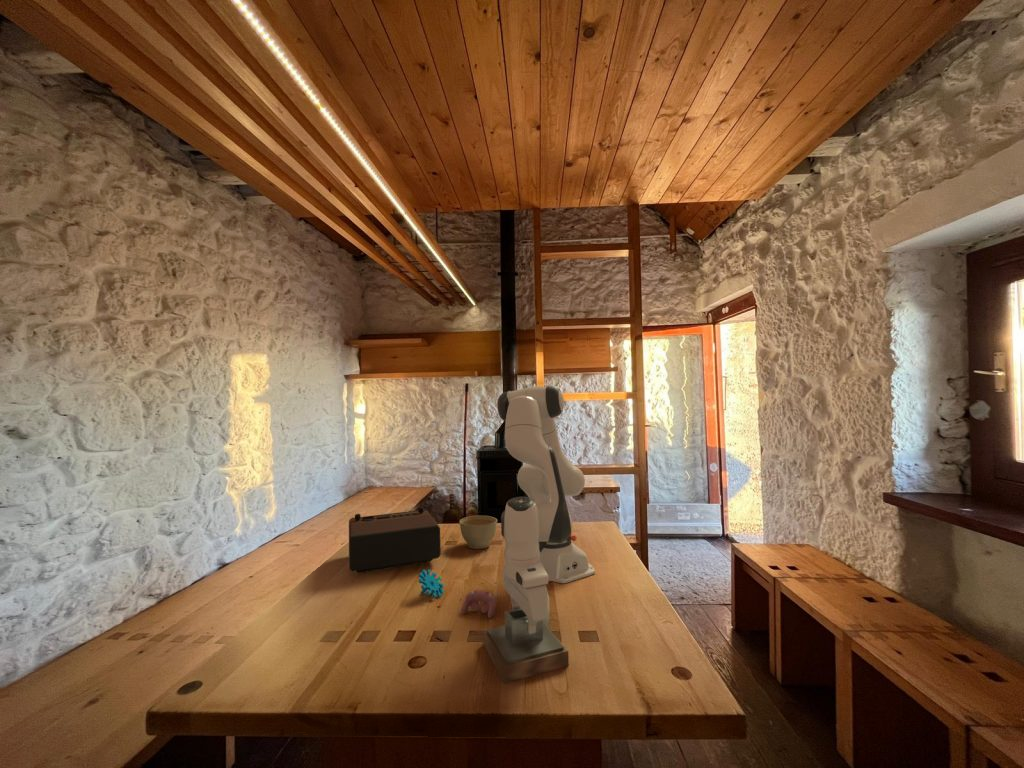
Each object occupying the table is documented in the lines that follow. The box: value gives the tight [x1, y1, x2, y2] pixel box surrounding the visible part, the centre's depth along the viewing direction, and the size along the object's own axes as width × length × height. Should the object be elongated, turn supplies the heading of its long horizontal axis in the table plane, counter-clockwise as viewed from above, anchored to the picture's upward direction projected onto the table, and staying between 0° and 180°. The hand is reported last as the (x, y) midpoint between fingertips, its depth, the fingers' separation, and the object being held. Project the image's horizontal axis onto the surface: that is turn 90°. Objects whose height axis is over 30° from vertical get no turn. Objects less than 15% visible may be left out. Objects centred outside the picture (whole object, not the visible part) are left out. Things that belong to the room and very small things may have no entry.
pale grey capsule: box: [543, 593, 551, 629], centre depth 118 cm, size 6×6×8 cm
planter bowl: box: [459, 515, 498, 550], centre depth 183 cm, size 16×16×11 cm
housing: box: [504, 608, 543, 647], centre depth 104 cm, size 5×8×6 cm, turn 111°
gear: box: [418, 568, 445, 599], centre depth 138 cm, size 11×6×10 cm
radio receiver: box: [348, 506, 442, 574], centre depth 168 cm, size 35×27×18 cm
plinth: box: [482, 623, 570, 684], centre depth 104 cm, size 16×16×4 cm
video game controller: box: [461, 590, 497, 620], centre depth 125 cm, size 10×5×7 cm, turn 72°
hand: (523, 622), depth 104 cm, fingers open, 8 cm apart
